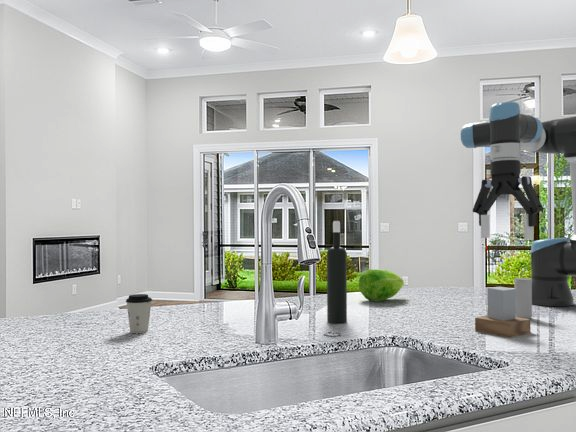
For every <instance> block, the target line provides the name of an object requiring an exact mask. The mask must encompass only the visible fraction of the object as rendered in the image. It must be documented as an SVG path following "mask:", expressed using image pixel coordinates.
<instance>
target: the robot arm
mask: <svg viewBox="0 0 576 432" xmlns="http://www.w3.org/2000/svg"><path fill="white" fill-rule="evenodd" d="M488 119H489V120H484V121H477V122H470V123H466V124H464V125H463V126H462V127H461V130H460V141H461V143H462V145H463V146H464V147H465V148H467V149H476V148H490V160H492V161H491V162H490V164H489V165H490V166H489V167H490V175H491V179H482V180H481V185H480V186H481V188H480V190H479V192H478V194H477V198H476V200H475V203H474V205H473V208H472V212H473V213H476V214H477V215H478V225H479V227H480V238H481V239H487V238H491V234H490V233H491V230H490V228H491V227H490V225H491V224H490V214H488V212H489V211H490V210H491V208H492V206H494V203H496V201H497V199H498V198H499V197H500V196H507V195H512V196H513V197H514V198H515V199H516V201H517V202H518V203H519V205H520V206H521V207H522V208H523V210H524V211H525V214H523V224H524V226H523V229H524V230H523V231H524V235H523V236H524V238H523V239H524V240H525V241H526V240H534V241H532V243H531V247H530V269H531V270H530V271H531V275H530V276H531V277H530V279H531V281H532V305H535V306H542V307H543V306H545V307H546V306H547V307H571V306H574V305H575V304H574V303H575V302H574V296H573V294H572V290H571V288H570V285H569V281H568V279H569V277H568V276H571V277H572V276H573V277H574V276H575V277H576V116H570V117H565V118H557V119H552V120H547V121H543V122H541V120H540V119H539V118H537V117H535V116H533V115H529V114H523V113H521V106H520V104H519V103H518V102H516V101H502V102H497V103H494V104H492V105H491V106H490V108H489V118H488ZM521 149H522V150H523V151H525V152H528V153H530V152H531V153H541V154H542V153H543V154H563V158H564V160H566V161H567V162H568V163H569V173H570V187H571V202H572V215H573V217H572V218H573V230H574V232H573V234H572V235H571V236H570V237H569V239H568V238H567V237H560V238H557V237H556V238H544V239H540V240H539V239H537V240H535V239H534V236H535V235H534V227H536V225H537V214H538V213H540V212H543V211H544V207H543V204H542V202H541V200H540V198H539V196H538V194H537V192H536V190H535V187H534V186H533V182H532V177H531V176H526V175H525V176H521V177H520V174H521V169H522V168H521V161H520V160H519V159H521ZM520 185H521V186H522V189H523V190H522V189H521V188H520V187H519V186H520ZM523 191H524V192H523ZM524 193H525V194H524Z"/></svg>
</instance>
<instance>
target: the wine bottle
mask: <svg viewBox="0 0 576 432" xmlns="http://www.w3.org/2000/svg"><path fill="white" fill-rule="evenodd" d="M332 235H333V236H332V237H333V242H332V243H333V244H332V245H333V246H332V247H329V248H328V249H327V252H326V286H327V287H326V295H327V296H326V297H327V298H326V310H327V311H326V312H327V313H326V318H327V319H326V320H327V321H326V322H327V323H330V324H335V325H340V324H346V323H347V322H348V315H347V314H348V313H347V312H348V309H347V308H348V302H347V301H348V300H347V299H348V296H347V294H348V291H347V289H348V285H347V282H348V281H347V275H348V274H347V267H348V266H347V250H346V249H345V248H344V247H341V222H340V220H333V222H332Z"/></svg>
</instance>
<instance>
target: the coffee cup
mask: <svg viewBox="0 0 576 432" xmlns="http://www.w3.org/2000/svg"><path fill="white" fill-rule="evenodd" d="M152 301H153V299H152V297H150V296H149V294H145V293H140V294H139V293H137V294H130V295H128V298H126V300H125V302H126V308H127V316H128V317H127V318H128V323H129V324H128V325H129V331H130V332H131V333H130V332H129V333H130V334H132V333H136V334H135V335H139V334H138V333H142V334H147V333H148V331H149V326H150V325H149V323H150V316H151V308H152ZM146 332H147V333H146Z"/></svg>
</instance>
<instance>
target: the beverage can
mask: <svg viewBox="0 0 576 432" xmlns="http://www.w3.org/2000/svg"><path fill="white" fill-rule="evenodd" d="M513 283H514V286H513V287H514V288H513V289H516V317H520V318H526V319H530V320H531V318H532V317H533V304H532V281H531V278H529V277H515V278H514V282H513Z"/></svg>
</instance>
